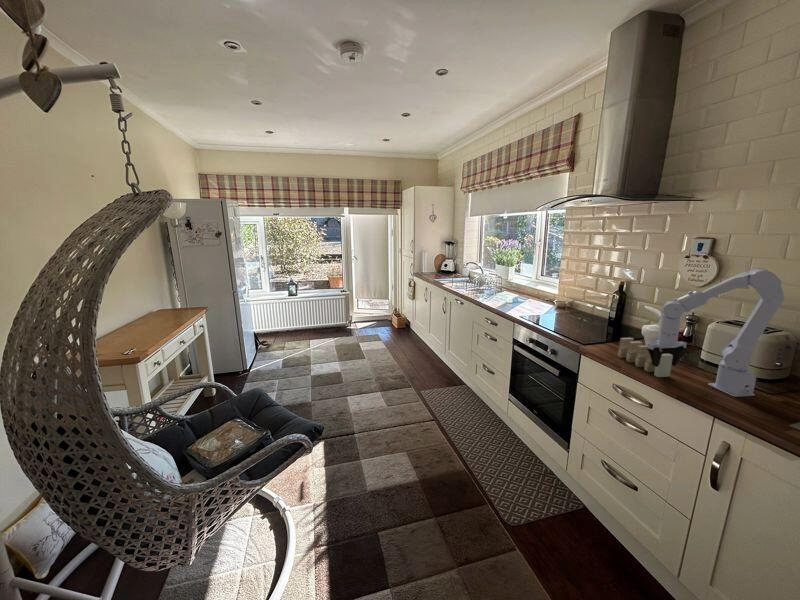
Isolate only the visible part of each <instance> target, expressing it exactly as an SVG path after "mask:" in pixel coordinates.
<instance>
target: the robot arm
mask: <svg viewBox="0 0 800 600" xmlns="http://www.w3.org/2000/svg"><path fill="white" fill-rule="evenodd" d="M749 286H750V287H752V288H753V289H754V290H755V292H756V294H757V295H758V296H759V297H760V299H759V301H758V302H757V304H756V305H755V307H754V309H752V311H751V313H750V314H749V316H748V318H747V320H746V321H745V323H744V324H743V326H742V327H741V329H740V331H739V332H738V334H737V336H736V337H735V338H734V339H731V341H730V343H729V344H728V345H725V346H724V347H723V348H722V349H721V351H720V352H721V353H720V355H721V357H722V358H723V359H722V360H720V362H719V364H718V368H717V373H716V374H717V375H716V379H715V382H709V383H708V386H710V387H712V388H714V389H716V390H719V391H720V392H723V393H726V394H727V395H730V396H732V397H734V398H735V397H736V398H737V397H754V396H755V395H756V394H755V393H754V390H755V386H756V383H757V382H756V381H757V377H756V375H755V374H754V373H751V372H750V371H749V370H748V368H749V366H750V364H751V356H752V354H753V352H754V346H755V345H756V343H757V342H758V341H759V339H760V337H762V334H763V332H764V331H765V330H766V328H767V327H768V325H769V324H770V323H771V321H772V320H773V318H774V316H775V315H776V313H777V312H778V310H779V309H780V307H781V305H782V304H783V302H784V301H785V294H784V291H783V286H782V280H781V278H779V277H778V276H777V275H776V274H775V273H774V272H772V271H770V270H768V269H766V268H763V267H756V268H755V267H754V268H751V269H749V270H748V271H743V272H740V273H739V274H736V275H734V276H731V277H729V278H728V279H726V280H723V281H721V282H719V283H717V284H715V285H714V286H711V287H709V288H707V289H704V290H703V291H699V290H694V291H692V290H690V291H688V292H687V294H685V295H683V296H681V297H678V298H676V297H675V298H673V300H670V302H665V304H663V306H662V309H663V316H662V318H663V319H662V320H661V326H660V333H659V340H657V342H653V343H648V347H647V350H648V351H649V354H650V356H651V361H652V365H654V366H656V367H658V365H659V361H660V358H661V356H662V354H665V353H664V351H663V350H662V351H660V350H661V349H659V348H662V349H669V354H671V355H673V359H672V365H671V366H674V367H675V366H677V364H678V363H679V361H680V359H681V357H682V356H683V355H684V354H685V353H686V352H687V349H686V348H687V344H688V343H687V342H686V341H685V342H684V341H678V340H679V335H680V328H681V317H682V316H683V314H684V313H689V312H691V311H693V310H695V309H698V308H700V307H702V306H705V305H707V303H708V300H710V299H713V298H715V297H718V296H719V295H722V294H725V293H728V292H730V291H733V290H736V289H742V290H743V289H744V290H749V289H750V287H749Z"/></svg>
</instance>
